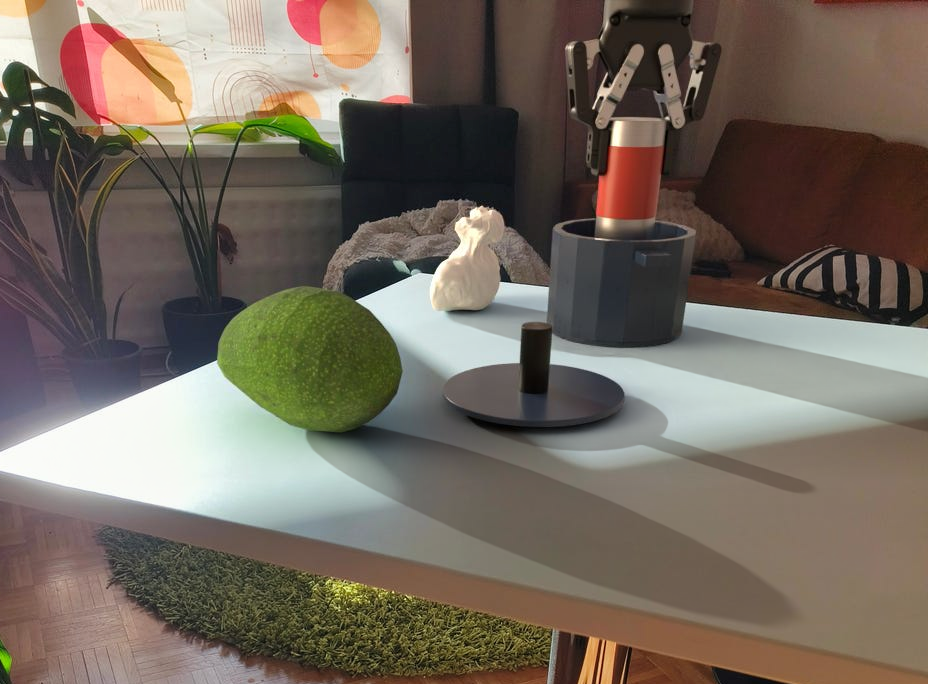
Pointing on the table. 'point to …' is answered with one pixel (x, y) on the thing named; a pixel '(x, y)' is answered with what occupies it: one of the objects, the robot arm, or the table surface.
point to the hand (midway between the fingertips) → (630, 173)
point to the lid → (533, 388)
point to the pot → (619, 285)
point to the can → (631, 179)
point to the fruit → (312, 359)
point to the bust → (470, 265)
